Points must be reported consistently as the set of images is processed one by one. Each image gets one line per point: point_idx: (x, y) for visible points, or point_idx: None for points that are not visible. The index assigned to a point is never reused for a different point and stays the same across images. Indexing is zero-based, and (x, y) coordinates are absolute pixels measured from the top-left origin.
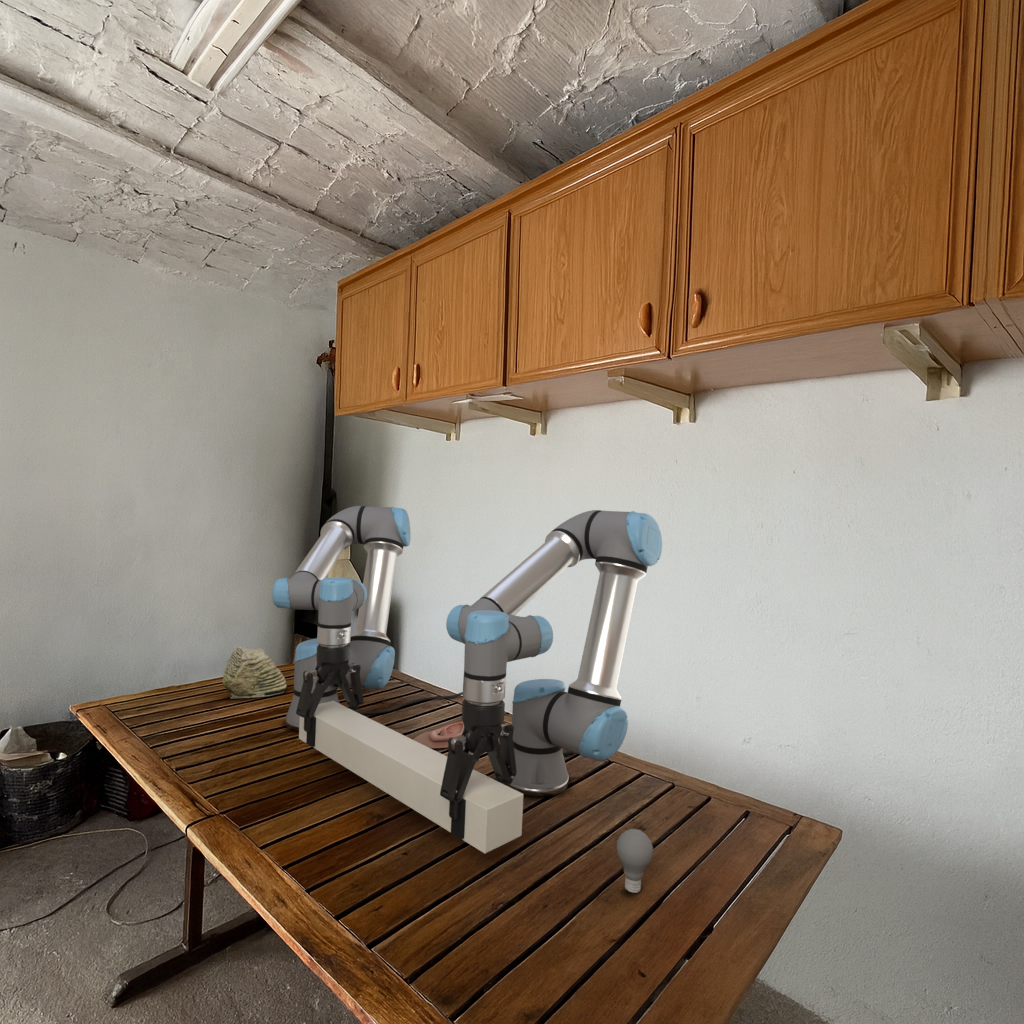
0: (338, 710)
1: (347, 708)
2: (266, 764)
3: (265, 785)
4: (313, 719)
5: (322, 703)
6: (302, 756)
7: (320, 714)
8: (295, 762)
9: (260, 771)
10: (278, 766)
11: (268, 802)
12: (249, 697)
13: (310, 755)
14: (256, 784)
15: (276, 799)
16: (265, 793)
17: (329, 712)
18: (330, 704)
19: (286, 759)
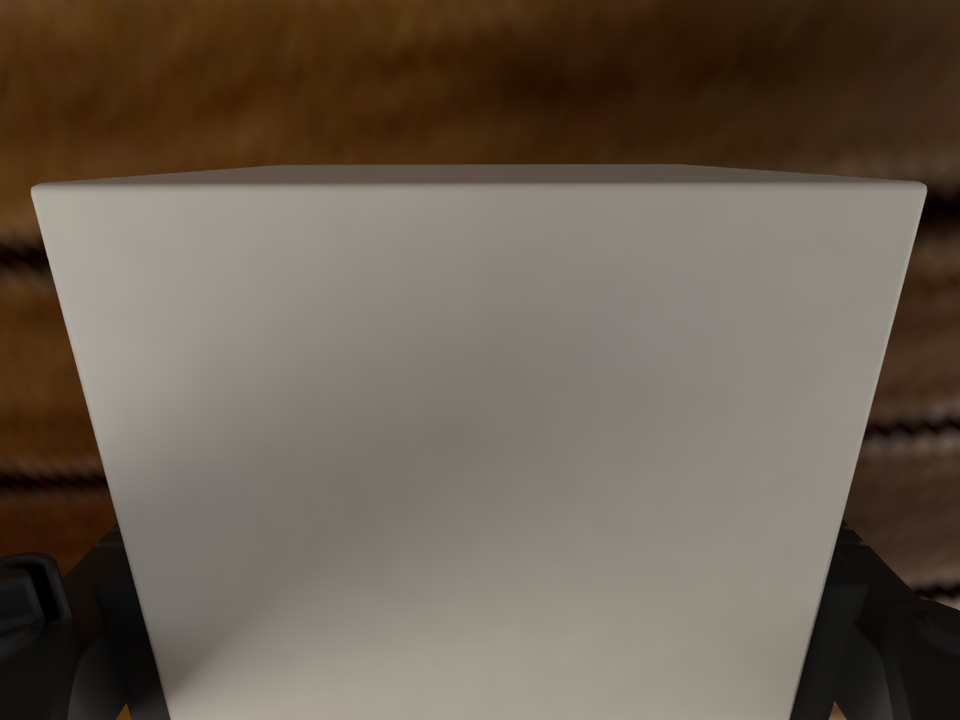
0: (598, 713)
1: (769, 713)
2: (131, 15)
3: (59, 345)
4: (147, 717)
5: (606, 211)
6: (424, 52)
7: (270, 707)
8: (334, 131)
9: (65, 118)
10: (203, 118)
11: (39, 527)
12: None
13: (483, 76)
14: (10, 299)
15: (82, 523)
16: (41, 434)
17: (433, 709)
18: (695, 384)
19: (296, 24)
